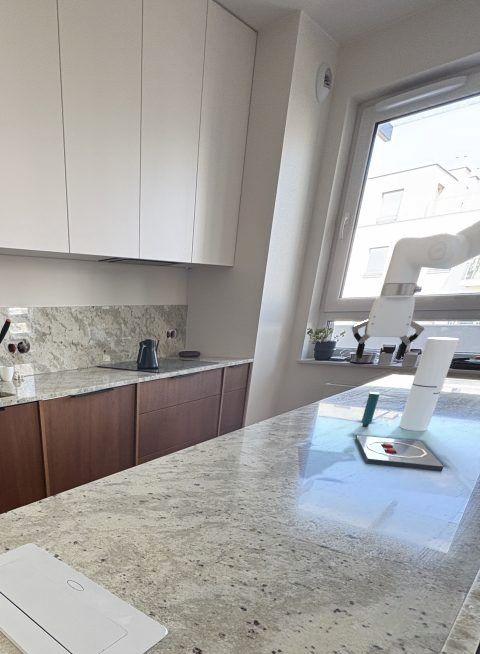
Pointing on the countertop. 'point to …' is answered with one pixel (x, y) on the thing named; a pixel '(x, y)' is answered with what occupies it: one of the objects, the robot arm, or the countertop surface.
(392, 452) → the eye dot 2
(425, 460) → the slate board
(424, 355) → the cylindrical container
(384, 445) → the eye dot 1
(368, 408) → the marker
